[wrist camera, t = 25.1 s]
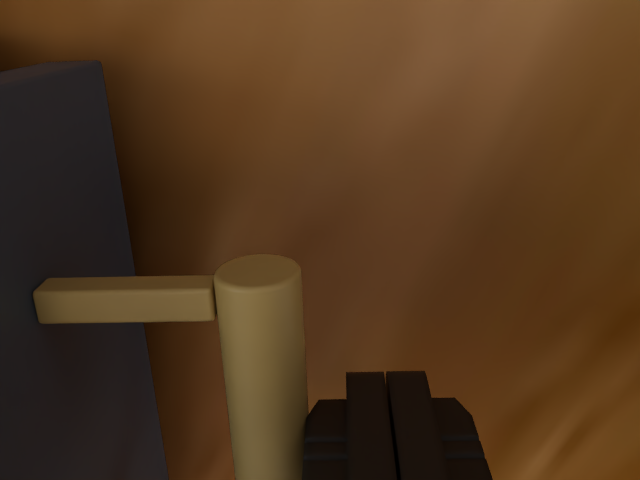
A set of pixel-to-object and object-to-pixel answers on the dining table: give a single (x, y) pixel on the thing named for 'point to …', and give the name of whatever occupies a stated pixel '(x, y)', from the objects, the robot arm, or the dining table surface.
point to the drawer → (119, 307)
